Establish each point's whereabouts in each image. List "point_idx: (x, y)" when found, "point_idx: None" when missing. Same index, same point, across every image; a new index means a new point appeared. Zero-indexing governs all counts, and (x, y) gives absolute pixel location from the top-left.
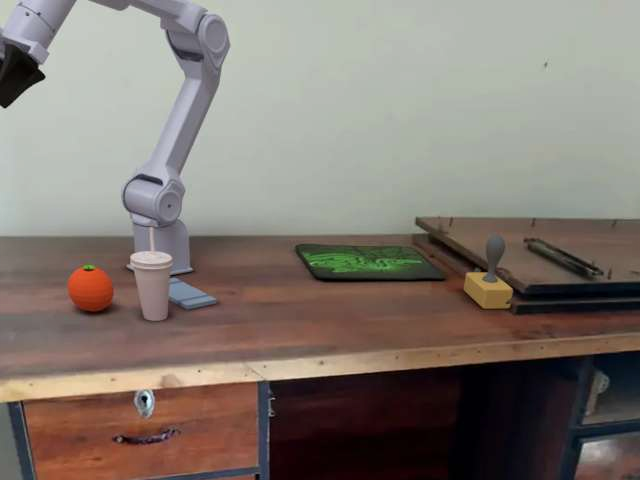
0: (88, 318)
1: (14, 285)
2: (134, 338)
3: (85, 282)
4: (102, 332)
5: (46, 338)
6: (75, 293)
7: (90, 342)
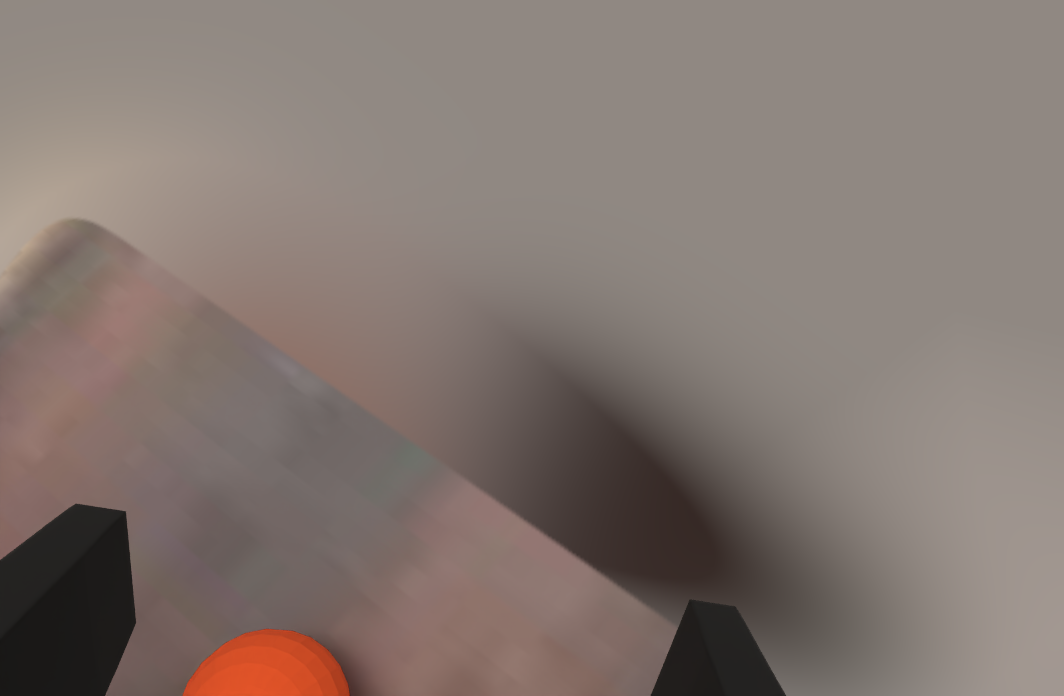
0: None
1: None
2: None
3: (208, 668)
4: None
5: (211, 432)
6: (254, 631)
7: None
